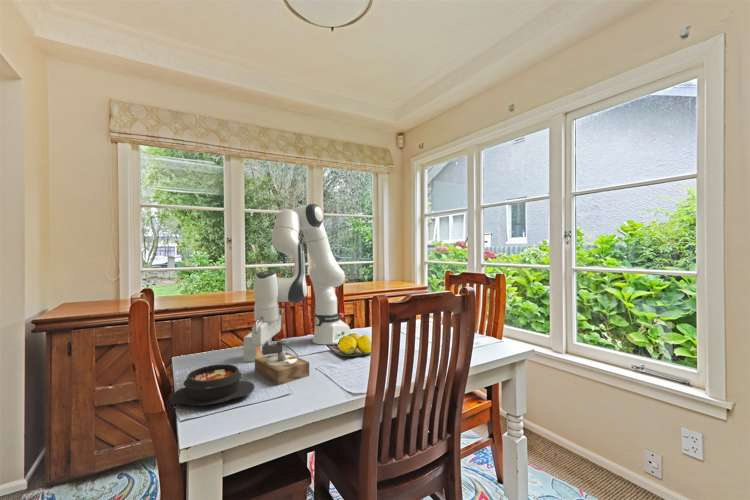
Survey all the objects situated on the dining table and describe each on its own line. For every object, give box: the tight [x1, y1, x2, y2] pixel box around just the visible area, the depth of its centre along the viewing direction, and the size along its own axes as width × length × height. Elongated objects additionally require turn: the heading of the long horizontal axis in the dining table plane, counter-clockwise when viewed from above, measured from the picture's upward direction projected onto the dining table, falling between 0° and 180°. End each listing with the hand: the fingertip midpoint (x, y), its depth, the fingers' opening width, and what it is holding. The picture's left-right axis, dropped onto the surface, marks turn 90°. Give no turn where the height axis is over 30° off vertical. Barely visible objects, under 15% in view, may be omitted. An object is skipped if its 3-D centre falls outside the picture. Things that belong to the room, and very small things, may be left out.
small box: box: [243, 332, 264, 362], centre depth 149 cm, size 8×6×10 cm
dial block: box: [254, 351, 310, 386], centre depth 132 cm, size 13×18×5 cm
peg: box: [262, 339, 299, 361], centre depth 132 cm, size 13×4×7 cm, turn 119°
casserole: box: [168, 364, 255, 407], centre depth 112 cm, size 25×19×8 cm
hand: (267, 350), depth 132 cm, fingers closed, pressing on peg
